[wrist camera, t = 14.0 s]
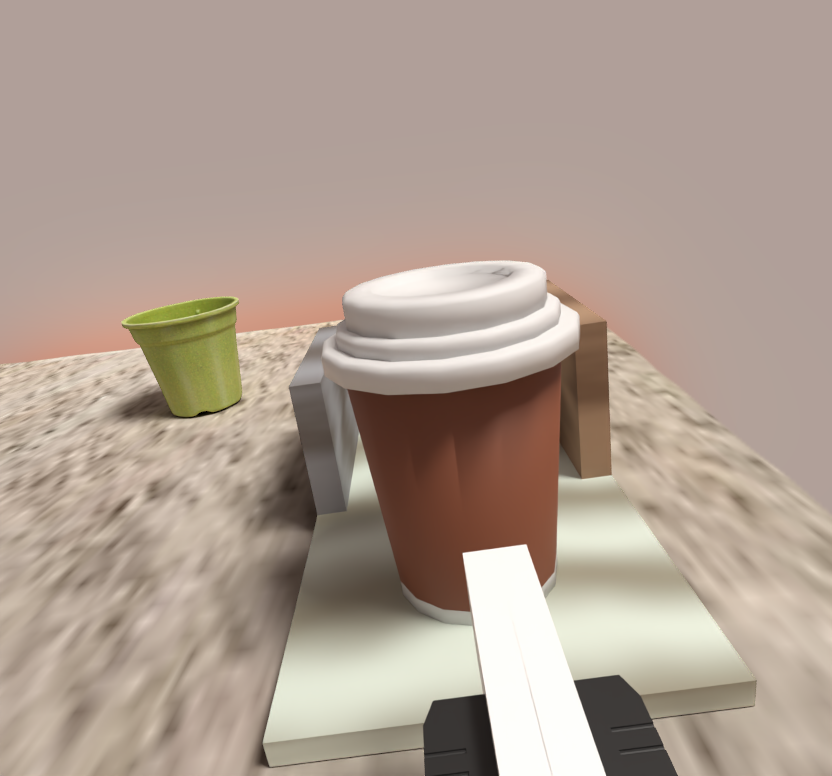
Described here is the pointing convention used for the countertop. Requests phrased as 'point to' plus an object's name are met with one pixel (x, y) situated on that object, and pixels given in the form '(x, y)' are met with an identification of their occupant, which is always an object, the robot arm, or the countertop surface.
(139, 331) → the plant pot
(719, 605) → the countertop surface
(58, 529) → the countertop surface
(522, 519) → the coffee cup
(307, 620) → the shelf
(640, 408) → the countertop surface
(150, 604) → the countertop surface
